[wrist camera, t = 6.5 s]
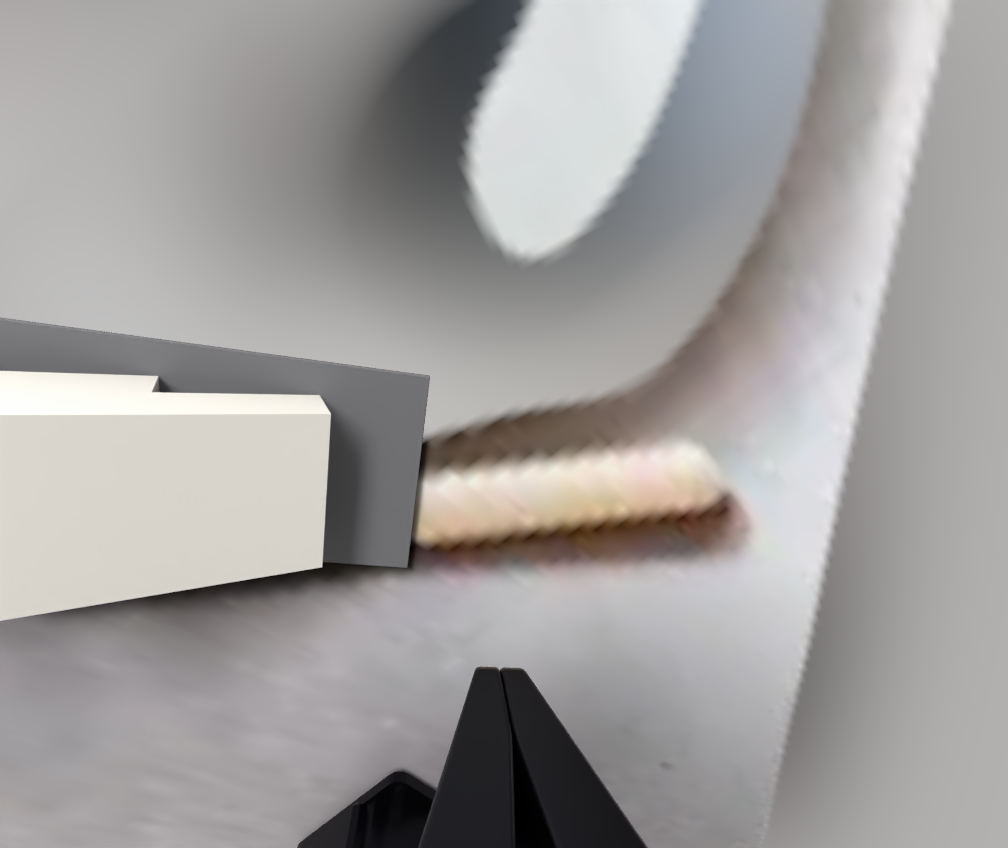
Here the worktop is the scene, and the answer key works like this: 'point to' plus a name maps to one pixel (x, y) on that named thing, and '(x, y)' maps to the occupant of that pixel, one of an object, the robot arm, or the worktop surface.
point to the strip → (343, 388)
